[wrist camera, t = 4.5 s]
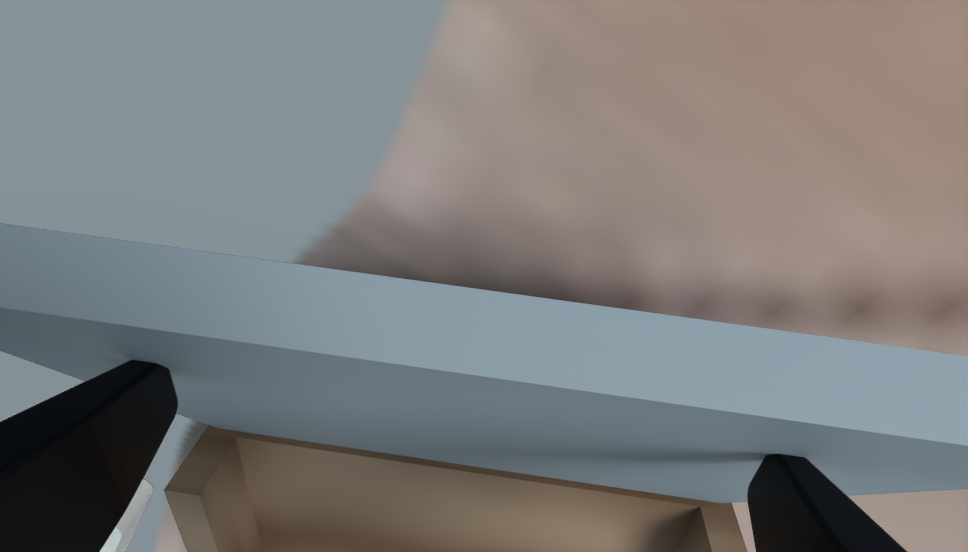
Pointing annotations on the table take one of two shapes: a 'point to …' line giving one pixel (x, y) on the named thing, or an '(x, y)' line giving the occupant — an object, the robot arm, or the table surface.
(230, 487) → the tray
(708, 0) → the table surface
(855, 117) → the table surface
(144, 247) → the panel
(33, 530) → the robot arm
